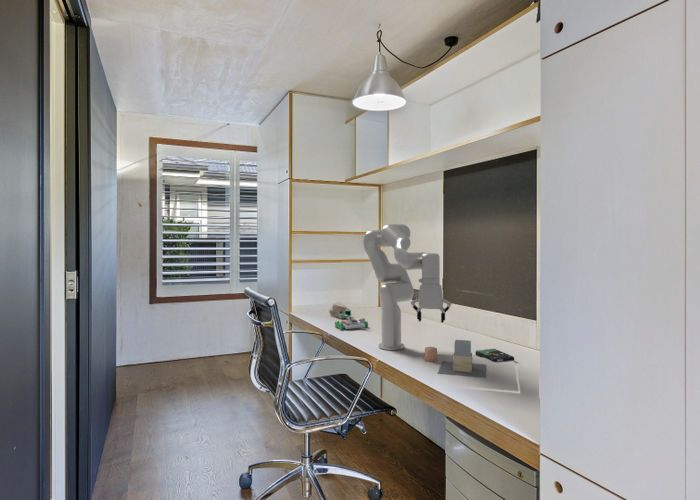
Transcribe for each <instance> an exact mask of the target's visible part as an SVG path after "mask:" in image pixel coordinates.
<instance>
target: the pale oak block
mask: <svg viewBox="0 0 700 500" xmlns="http://www.w3.org/2000/svg"><path fill="white" fill-rule="evenodd" d="M452 362H453V371H462V372H471V371H472V364H473V352H471V355H470V357H467V356H454V354H453V355H452Z"/></svg>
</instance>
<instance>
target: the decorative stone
mask: <svg viewBox="0 0 700 500" xmlns="http://www.w3.org/2000/svg"><path fill="white" fill-rule="evenodd" d="M345 310H350V308H349V307H348V306H347V305H345V304H343V303H342V302H340V301H339V302H338V301H337V302H335V303H333V304H332V306H331V307H330V308H329V310H328V312H329V313H328V314H329V315H330V316H331V317H332V318H338V319H347V318H346V317H343V316H342V317H341V316H340V314H343V315H346V314H345Z"/></svg>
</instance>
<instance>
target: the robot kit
mask: <svg viewBox="0 0 700 500" xmlns="http://www.w3.org/2000/svg"><path fill="white" fill-rule="evenodd" d="M345 314H346V315H343V314H340V316H341V317H342V316H343V317H346V318H345V319H346V320H341V321H339V320H336V321H335V322H334V328H335V329H338V330H339V331H343V330H344V329H346V330H349V329H350V330H351V329H361V328H364V329H368V328H369V323H368V320H366V318H364V317H362V318H360V319H356V318H355V317H354V316H352V310H351V309H349V310H345Z"/></svg>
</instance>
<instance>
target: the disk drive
mask: <svg viewBox="0 0 700 500" xmlns="http://www.w3.org/2000/svg"><path fill="white" fill-rule="evenodd" d="M475 356H477V357H479V358H485V359H487V360H489V361H491V362H493V363H497V362H499V363H500V362H507V361H515V356H513V355H510V354H509V353H506V352H503V351H501V350H498V349H497V348H489V349H487V348H486V349H480V350H478V349H477V350H475Z"/></svg>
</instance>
